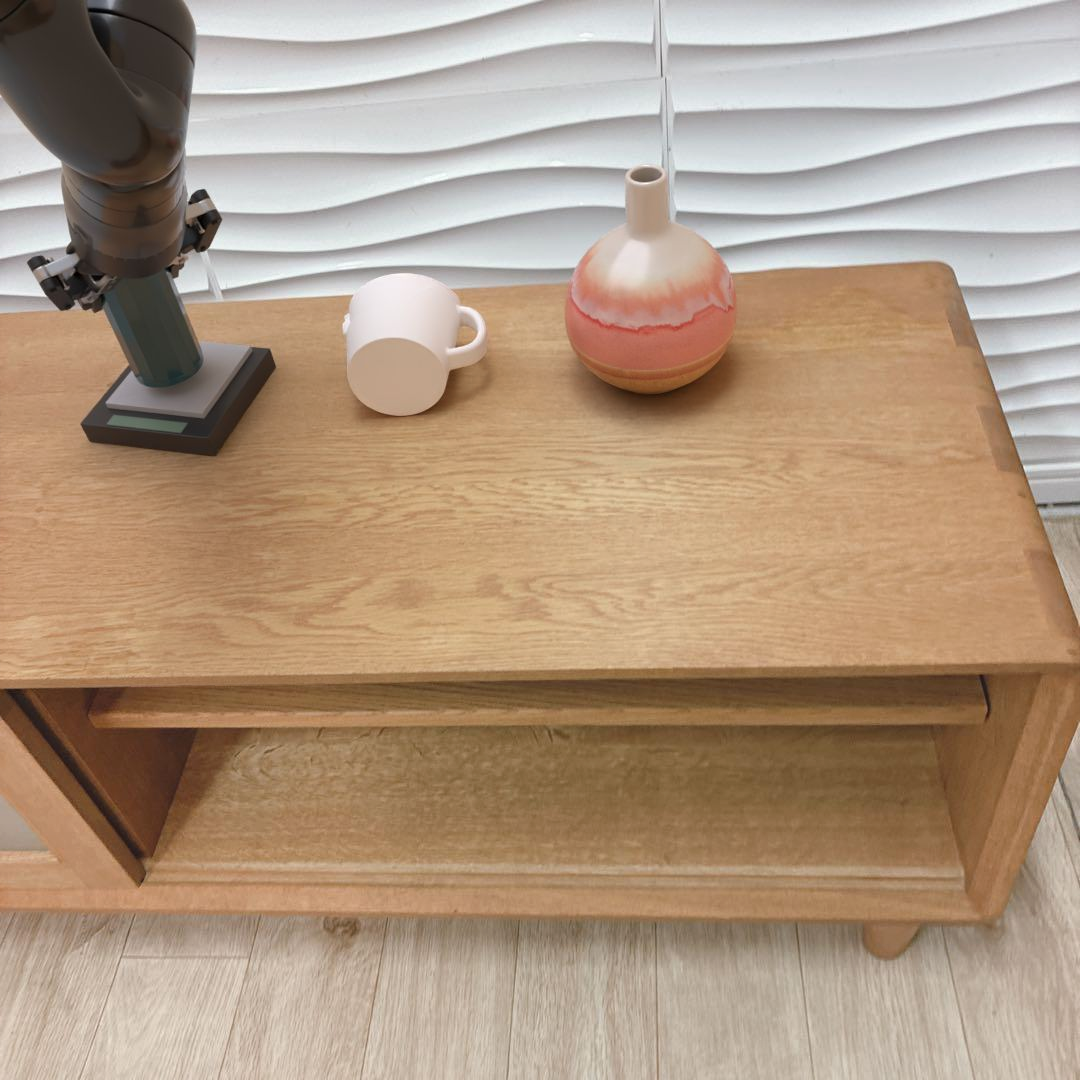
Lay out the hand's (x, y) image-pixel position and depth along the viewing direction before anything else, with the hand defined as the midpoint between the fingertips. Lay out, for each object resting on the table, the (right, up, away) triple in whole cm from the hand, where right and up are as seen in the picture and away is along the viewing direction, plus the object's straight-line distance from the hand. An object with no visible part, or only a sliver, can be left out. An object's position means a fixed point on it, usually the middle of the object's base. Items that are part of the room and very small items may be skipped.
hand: (129, 284), depth 86 cm
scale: (+2, -9, +7) cm, 11 cm away
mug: (+23, -7, +6) cm, 25 cm away
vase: (+42, -6, +4) cm, 43 cm away
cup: (+2, -6, +4) cm, 7 cm away
